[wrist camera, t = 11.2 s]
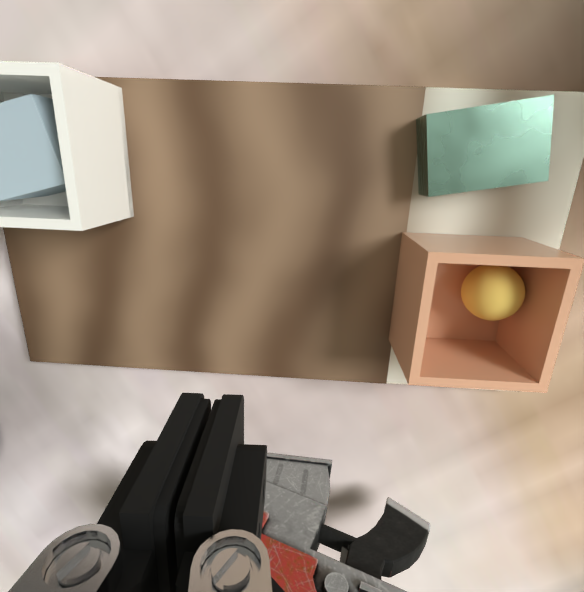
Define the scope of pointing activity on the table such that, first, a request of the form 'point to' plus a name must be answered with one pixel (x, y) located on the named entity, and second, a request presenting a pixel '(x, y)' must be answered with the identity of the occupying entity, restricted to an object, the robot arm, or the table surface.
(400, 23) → the table surface
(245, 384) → the table surface
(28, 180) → the block
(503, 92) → the board
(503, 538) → the table surface
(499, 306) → the ball
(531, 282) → the peach open cubby box
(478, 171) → the tin
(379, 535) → the toy gun
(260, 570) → the robot arm
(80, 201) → the white open cubby box
